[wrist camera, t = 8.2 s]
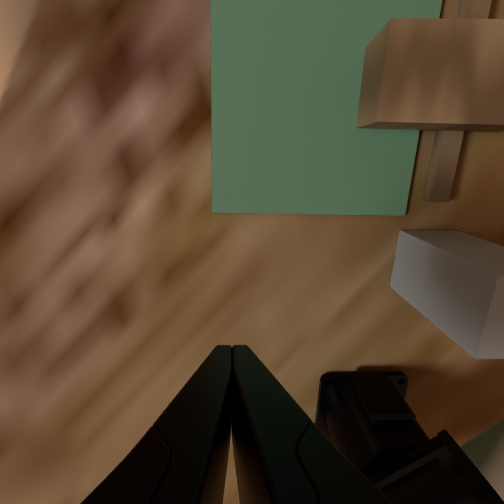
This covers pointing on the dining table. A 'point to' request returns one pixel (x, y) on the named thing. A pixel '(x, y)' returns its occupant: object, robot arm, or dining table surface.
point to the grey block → (454, 286)
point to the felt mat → (303, 109)
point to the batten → (446, 141)
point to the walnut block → (434, 76)
